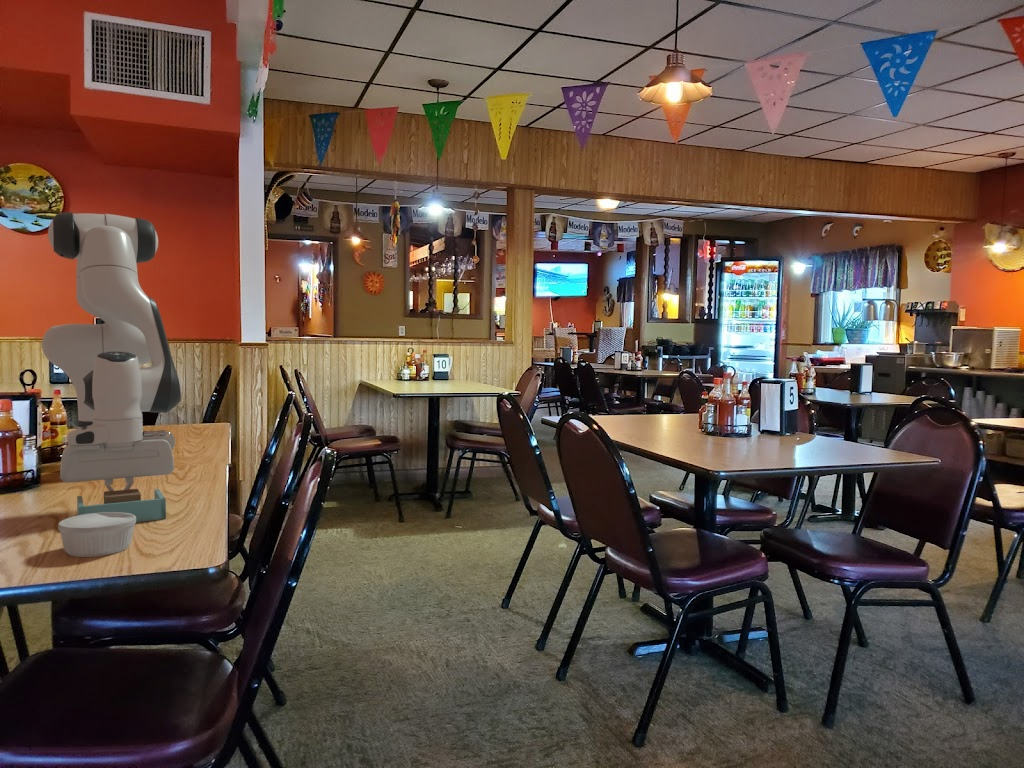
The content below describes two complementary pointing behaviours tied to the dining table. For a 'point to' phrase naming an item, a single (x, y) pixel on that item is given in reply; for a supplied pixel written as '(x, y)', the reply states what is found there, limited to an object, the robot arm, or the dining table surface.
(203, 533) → the dining table surface
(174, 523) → the dining table surface
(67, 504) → the dining table surface
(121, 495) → the walnut tile block
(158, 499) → the box
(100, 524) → the ramekin
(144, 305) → the robot arm
